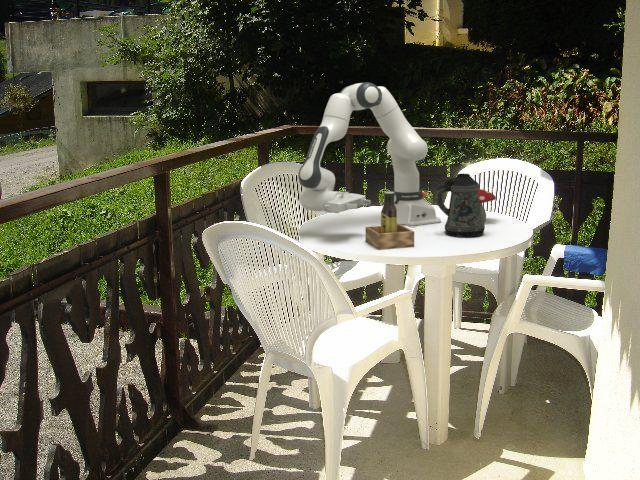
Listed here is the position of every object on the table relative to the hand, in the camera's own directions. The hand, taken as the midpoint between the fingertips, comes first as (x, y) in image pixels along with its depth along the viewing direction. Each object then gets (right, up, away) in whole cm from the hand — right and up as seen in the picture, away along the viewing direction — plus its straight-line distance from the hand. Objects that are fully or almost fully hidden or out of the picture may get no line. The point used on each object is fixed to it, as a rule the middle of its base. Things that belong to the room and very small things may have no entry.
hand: (363, 204), depth 311 cm
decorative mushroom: (+53, -6, +37) cm, 65 cm away
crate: (+10, -16, -4) cm, 19 cm away
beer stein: (+41, -12, +12) cm, 45 cm away
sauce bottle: (+10, -15, -4) cm, 18 cm away
